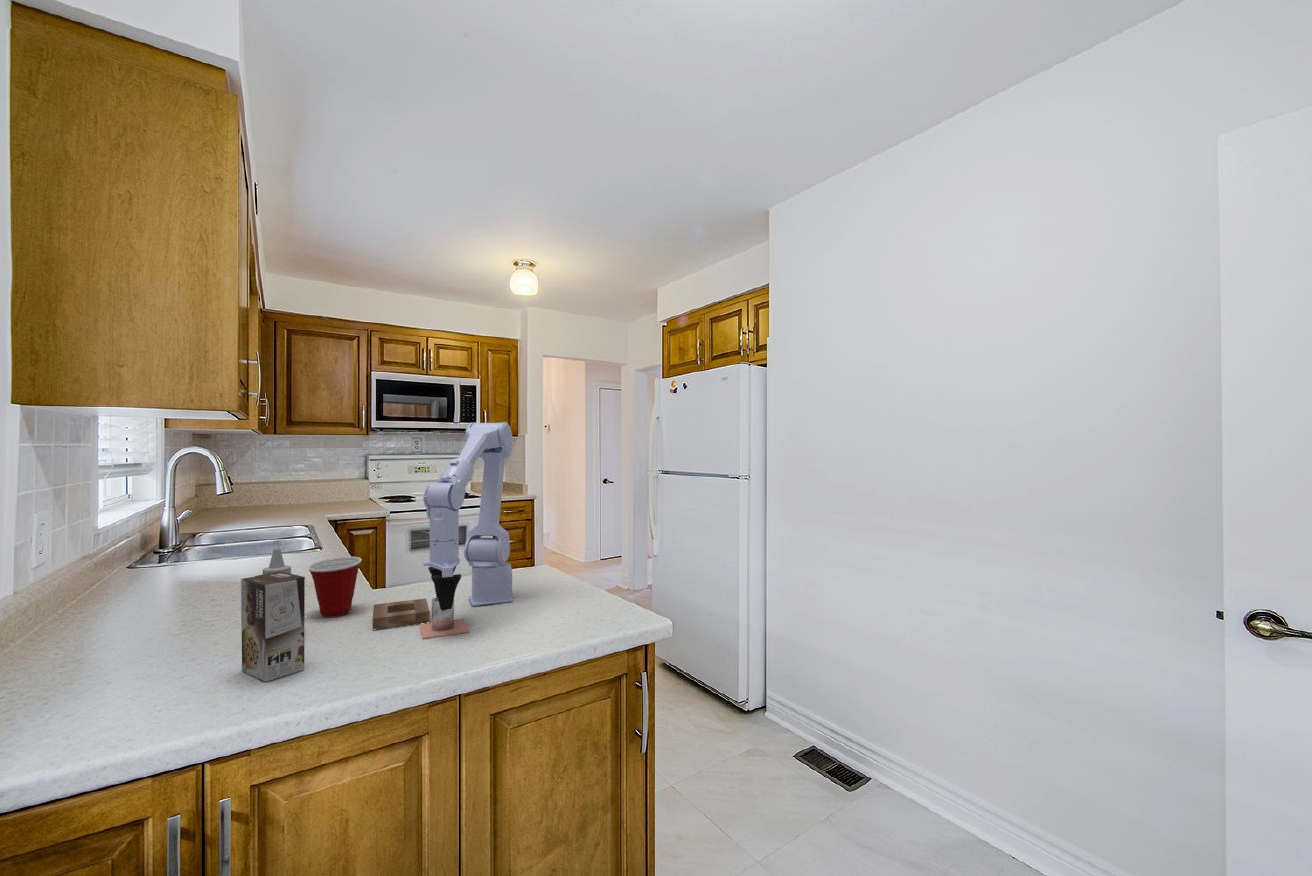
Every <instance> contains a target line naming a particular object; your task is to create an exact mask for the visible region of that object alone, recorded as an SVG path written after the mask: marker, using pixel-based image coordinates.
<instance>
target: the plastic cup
mask: <svg viewBox="0 0 1312 876" xmlns="http://www.w3.org/2000/svg"><path fill="white" fill-rule="evenodd" d="M362 560H363V559H362V558H361V557H359V556H336V557H332V558H330V557H329V558H325V559H322V560H319V561H314V562H312V563H310V564H309V565H307V570H308V571H309V573H310V575H311V577H312V580H313V585H314V590H315V593H316V594H315V595H316V599H317V602H318V606H319V607H318V608H319V613H320V614H321V617H323V618H335V617H341V616H345V615H347V614H349V613H350V612H351V609H352V606H353V605H352V603H353V598H354V596H355V595H354V594H355V589H356V584H357V576H358V573H359V568H360V565H361V563H362Z"/></svg>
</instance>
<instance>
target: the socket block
mask: <svg viewBox="0 0 1312 876" xmlns="http://www.w3.org/2000/svg"><path fill="white" fill-rule="evenodd" d="M430 615H431V614H430V607H429V604H428V600H427V598H426V597H425V598H418V599H411V600H400V601H393V602H386V603H385V602H384V603H377V604H373V609H372V631H373V630H374V629H381V630H388V629H387V628H389V629H393V628H392V627H396V628H401V627H400V626H403V627H408V626H407V625H411V626H414V625H413V624H418V625H420V624H421V623H425V624H426V623H427V622H430V619H431V618H430V617H431V616H430ZM430 623H431V622H430ZM374 631H375V630H374Z"/></svg>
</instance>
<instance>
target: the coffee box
mask: <svg viewBox="0 0 1312 876" xmlns="http://www.w3.org/2000/svg"><path fill="white" fill-rule="evenodd" d="M305 578H306V577H305V576H301V575H299V574H293V573H291V574H290V573H285V572H281V571H278V572H272V573H267V574H263V573H262V574H259V575H255V576H251V577H246V578H245V577H244V578H241V579H240V584H241V585H240V593H241V594H240V596H241V597H240V599H241V600H240V602H241V604H240V609H241V611H240V612H241V614H240V615H241V616H240V617H241V622H240V623H241V625H240V626H241V672H243V673H245V674H248V675H250V676H252V677H254V678H256V679H258V680H261V681H262V682H265V683H266V682H270V681H274V680H276V679H279V678H282V677H285V676H289V675H292V674H294V673H295V674H296V673H298V672H302V671H304V670H305V622H306V621H305V610H306V609H305V597H306V596H305V594H306V592H305V588H306V587H305V583H306V581H305V580H306V579H305Z"/></svg>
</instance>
